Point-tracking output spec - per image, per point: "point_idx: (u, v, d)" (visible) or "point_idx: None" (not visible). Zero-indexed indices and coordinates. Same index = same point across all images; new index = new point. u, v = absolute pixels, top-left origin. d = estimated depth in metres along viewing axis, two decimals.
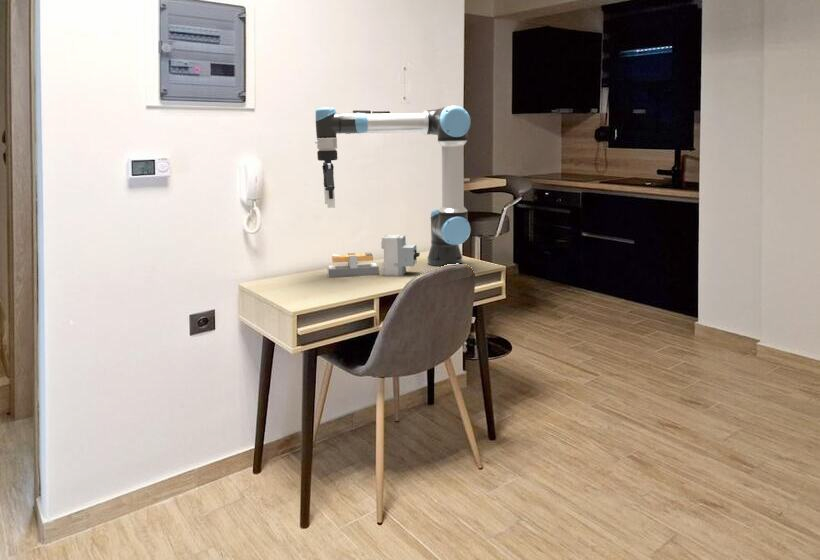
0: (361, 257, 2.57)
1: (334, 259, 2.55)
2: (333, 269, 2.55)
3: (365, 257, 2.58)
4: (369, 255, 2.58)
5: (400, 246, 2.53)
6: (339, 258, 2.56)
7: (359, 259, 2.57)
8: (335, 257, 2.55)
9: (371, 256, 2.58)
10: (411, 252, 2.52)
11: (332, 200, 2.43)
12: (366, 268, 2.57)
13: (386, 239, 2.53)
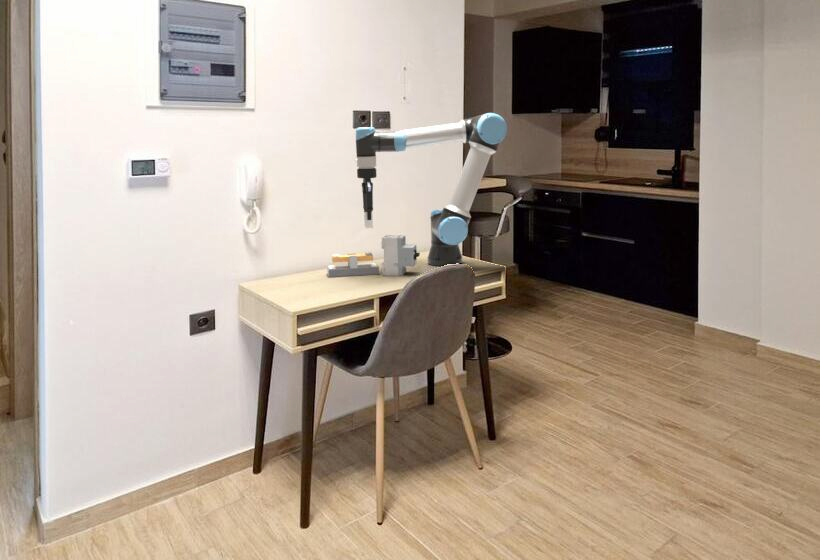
0: (361, 257, 2.57)
1: (334, 259, 2.55)
2: (333, 269, 2.55)
3: (365, 257, 2.58)
4: (369, 255, 2.58)
5: (400, 246, 2.53)
6: (339, 258, 2.56)
7: (359, 259, 2.57)
8: (335, 257, 2.55)
9: (371, 256, 2.58)
10: (411, 252, 2.52)
11: (370, 221, 2.55)
12: (366, 268, 2.57)
13: (386, 239, 2.53)
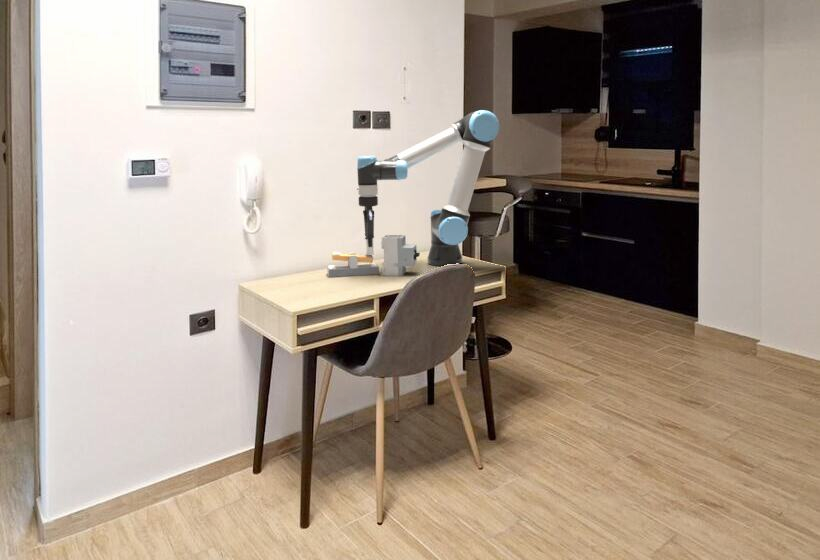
0: (361, 258, 2.57)
1: (334, 257, 2.55)
2: (333, 269, 2.55)
3: (365, 259, 2.58)
4: (369, 257, 2.58)
5: (400, 246, 2.53)
6: (339, 256, 2.56)
7: (359, 260, 2.57)
8: (335, 255, 2.55)
9: (371, 258, 2.58)
10: (411, 252, 2.52)
11: (371, 248, 2.59)
12: (366, 268, 2.57)
13: (386, 239, 2.53)
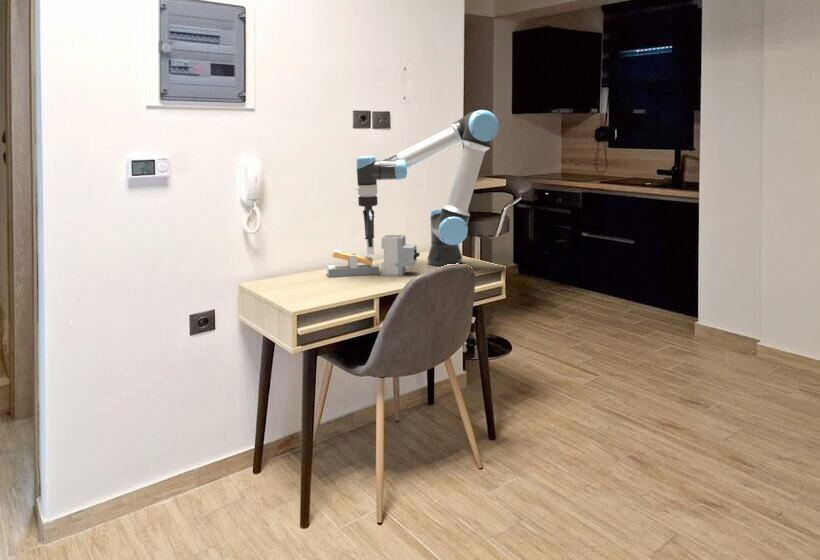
0: (361, 259, 2.58)
1: (335, 254, 2.55)
2: (333, 269, 2.55)
3: (365, 260, 2.58)
4: (369, 259, 2.58)
5: (400, 246, 2.53)
6: (340, 254, 2.55)
7: (359, 261, 2.57)
8: (336, 252, 2.55)
9: (371, 261, 2.59)
10: (411, 252, 2.52)
11: (371, 248, 2.59)
12: (366, 268, 2.57)
13: (386, 239, 2.53)
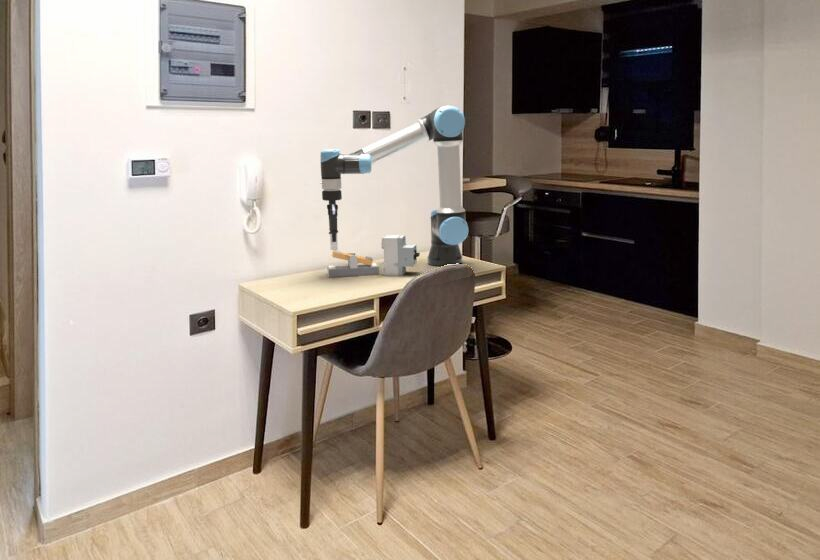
0: (361, 259, 2.58)
1: (335, 254, 2.55)
2: (333, 269, 2.55)
3: (365, 260, 2.58)
4: (369, 259, 2.58)
5: (400, 246, 2.53)
6: (340, 254, 2.55)
7: (359, 261, 2.57)
8: (336, 252, 2.55)
9: (371, 261, 2.59)
10: (411, 252, 2.52)
11: (335, 243, 2.55)
12: (366, 268, 2.57)
13: (386, 239, 2.53)
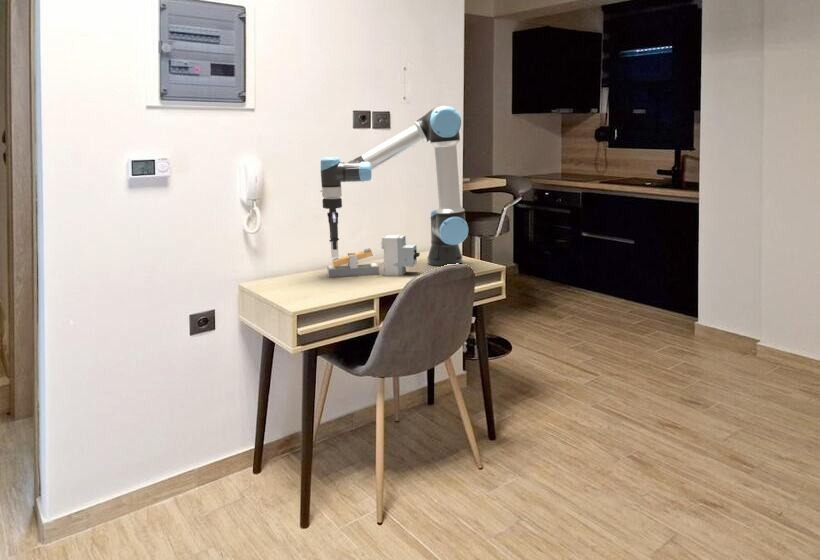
0: (360, 255, 2.57)
1: (335, 263, 2.56)
2: (333, 269, 2.55)
3: (364, 254, 2.57)
4: (368, 251, 2.58)
5: (400, 246, 2.53)
6: (339, 261, 2.56)
7: (359, 258, 2.57)
8: (335, 261, 2.56)
9: (370, 252, 2.58)
10: (411, 252, 2.52)
11: (336, 250, 2.56)
12: (366, 268, 2.57)
13: (386, 239, 2.53)
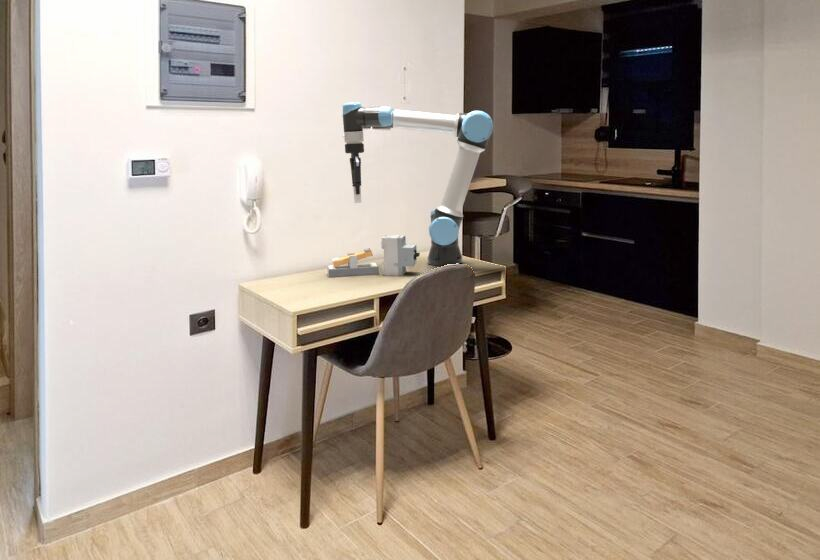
0: (360, 255, 2.57)
1: (335, 263, 2.56)
2: (333, 269, 2.55)
3: (364, 254, 2.57)
4: (368, 251, 2.58)
5: (400, 246, 2.53)
6: (339, 261, 2.56)
7: (359, 258, 2.57)
8: (335, 261, 2.56)
9: (370, 252, 2.58)
10: (411, 252, 2.52)
11: (359, 195, 2.61)
12: (366, 268, 2.57)
13: (386, 239, 2.53)
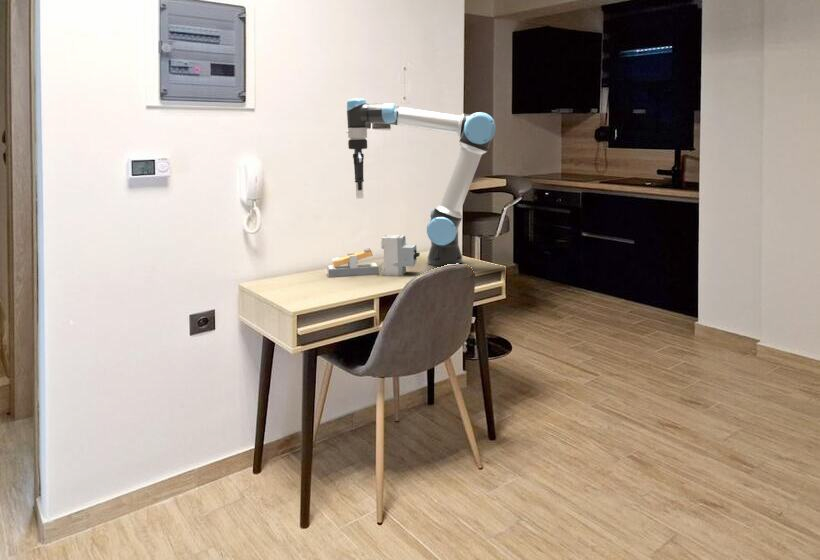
0: (360, 255, 2.57)
1: (335, 263, 2.56)
2: (333, 269, 2.55)
3: (364, 254, 2.57)
4: (368, 251, 2.58)
5: (400, 246, 2.53)
6: (339, 261, 2.56)
7: (359, 258, 2.57)
8: (335, 261, 2.56)
9: (370, 252, 2.58)
10: (411, 252, 2.52)
11: (361, 191, 2.62)
12: (366, 268, 2.57)
13: (386, 239, 2.53)
